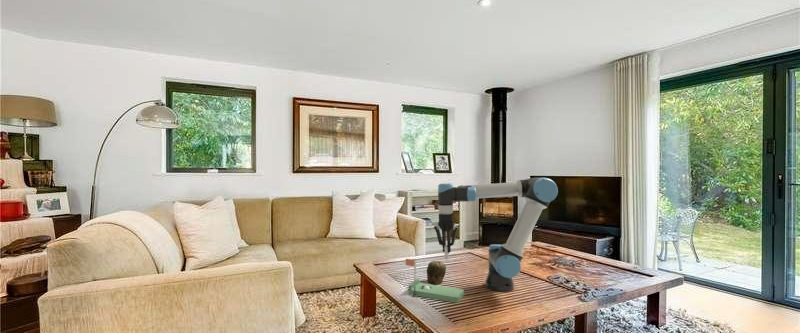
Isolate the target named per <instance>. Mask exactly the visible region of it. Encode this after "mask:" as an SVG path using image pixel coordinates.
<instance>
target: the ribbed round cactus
mask: <svg viewBox="0 0 800 333" xmlns="http://www.w3.org/2000/svg"><path fill="white" fill-rule="evenodd" d="M446 273H447V266H446V265H445V263H444V262H443V261H442V260H437V261H436V260H433V261H429V263H428V264H427V268H426V279H427V284H430V285H440V284H442V283H443V281H444V277H445V275H446Z"/></svg>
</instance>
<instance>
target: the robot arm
mask: <svg viewBox="0 0 800 333" xmlns="http://www.w3.org/2000/svg"><path fill="white" fill-rule="evenodd" d="M558 189H559V188H558V185H557V184H556V182H555V181H554V180H552V179H550V178H548V177H538V176H537V177H530V178H526V179H517V180H516V181H514V182H499V183H498V182H497V183H484V184H471V185H468V184H467V185H458V186H455V187H454V186H453V183H439V184H438V187H437V198H438V222H437V224H436V225H434V226H433V229H434V231H435V232H436V238H437V241H438V245H440V246H442V253H444V260H449V259H450V253H451V252H452V250H451V247H453V246H454V245H455V241H456V238H457V237H456V236H457V233H458V230H459V226H456V225H455V223H454V205H453V204H454V203H455V202H468V203H471V202H475V201H476V200H477V199H489V198H504V197H518V198H524V200H525V204H524V205H523V208H522V210H521V212H520V213H519V216H518V218H517V220H516V222H515V224H514V226H513V228H512V230H511V232H510V234H509V236H508V239H507V240H506V243H503V244H495V243H494V244H490V245H488V249H487V251H488V273H487V276H486V277H485V284H484V285H485V287H486V288H487V289H489V290H493V291H495V292H496V291H497V292H511V291H513V290H514V289H515V284H514V280H513V278H514V277H516V276H517V275H519V274H520V273H521V268H522V267H521V266H522V264H521V262H522V260H523V258H524V254H523V251H524V249H525V246H526V245H527V242H528V240H529V238H530V236H531V234H532V232H533V230H534V228H535V225H536V224H537V221H538V220H539V217H540V216H541V214H542V211H543V210H545V209H547V208H548V207H549V205H550V203H551V202H553V201H555V199H556V198H557V196H558V193H559V190H558ZM440 230H441V231H440ZM452 230H453V232H452V236H451V231H452Z"/></svg>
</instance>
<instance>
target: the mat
mask: <svg viewBox="0 0 800 333" xmlns="http://www.w3.org/2000/svg"><path fill="white" fill-rule="evenodd" d="M424 286H429V288H430V290H423V288H424ZM413 294H414V281H413V282H411V283H410V284H408V295H411V296H412V295H413ZM415 294H416V295H417V297H422V298H428V299H434V300H440V301H445V302H452V303H459V302H460V301H461V300H462V298H463V297H464V295H465V289H461V288H454V287H449V286H443V285H438V284H431V283H424V282H423V283H422V282H420V278H416V284H415Z"/></svg>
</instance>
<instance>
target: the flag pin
mask: <svg viewBox="0 0 800 333" xmlns="http://www.w3.org/2000/svg"><path fill="white" fill-rule="evenodd" d="M416 261H417V260H416V259H410V258H405V266H407V267H408V266H410V267H413V270H414V271H413V273H414V274H413V276H414V277H413V282H414V294H413V295H411V296H412V298H417V297H418V296H417V295H416V294H415V284H416V279H417V278H416V277H417V275H416V273H417V272H416V268H417V267H416V266H417V264H416V263H417V262H416Z"/></svg>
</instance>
